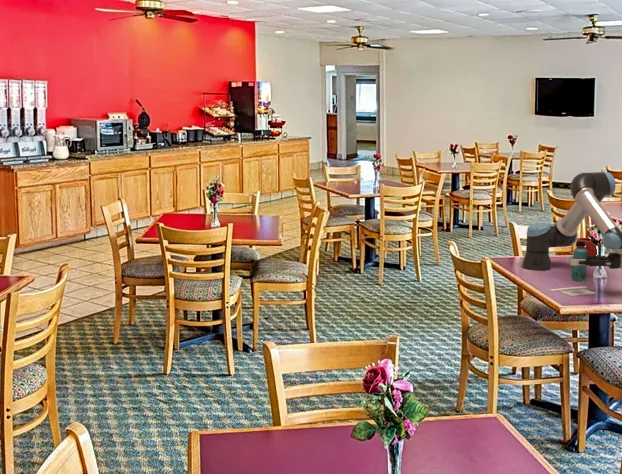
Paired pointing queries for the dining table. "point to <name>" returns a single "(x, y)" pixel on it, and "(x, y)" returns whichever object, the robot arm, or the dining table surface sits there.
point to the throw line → (567, 288)
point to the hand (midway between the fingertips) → (568, 260)
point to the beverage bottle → (579, 270)
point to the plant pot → (588, 246)
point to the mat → (577, 292)
